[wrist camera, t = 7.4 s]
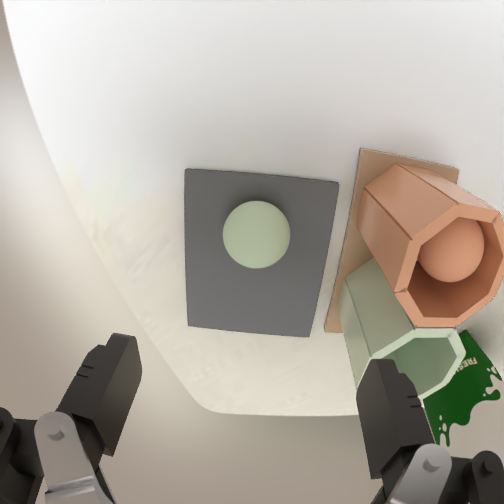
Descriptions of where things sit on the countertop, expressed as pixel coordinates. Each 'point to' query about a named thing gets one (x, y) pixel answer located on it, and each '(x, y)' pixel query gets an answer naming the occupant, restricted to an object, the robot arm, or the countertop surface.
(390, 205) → the tubes
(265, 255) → the ball sage
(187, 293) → the mat
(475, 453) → the milk carton
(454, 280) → the ball rust
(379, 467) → the robot arm
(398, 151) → the countertop surface
